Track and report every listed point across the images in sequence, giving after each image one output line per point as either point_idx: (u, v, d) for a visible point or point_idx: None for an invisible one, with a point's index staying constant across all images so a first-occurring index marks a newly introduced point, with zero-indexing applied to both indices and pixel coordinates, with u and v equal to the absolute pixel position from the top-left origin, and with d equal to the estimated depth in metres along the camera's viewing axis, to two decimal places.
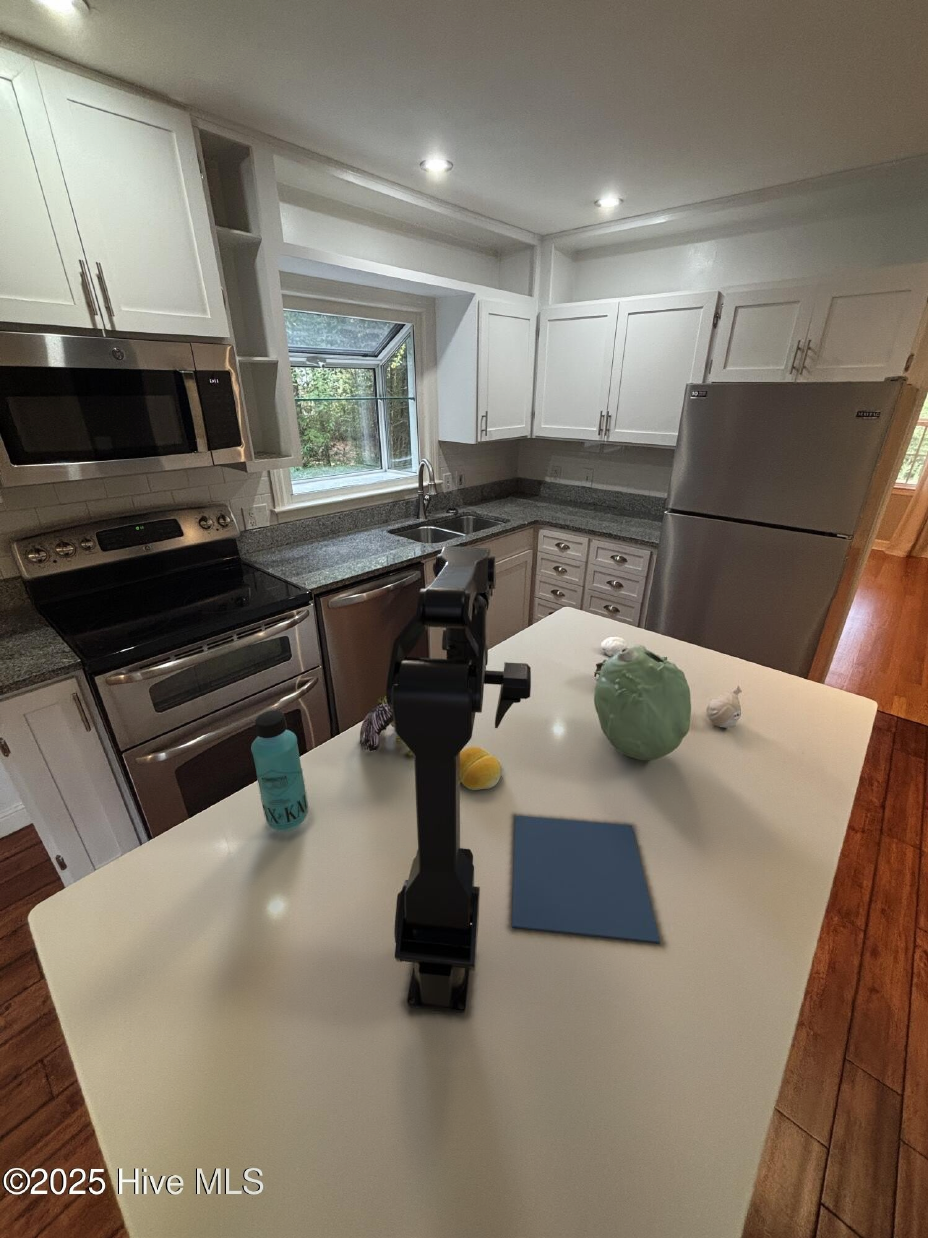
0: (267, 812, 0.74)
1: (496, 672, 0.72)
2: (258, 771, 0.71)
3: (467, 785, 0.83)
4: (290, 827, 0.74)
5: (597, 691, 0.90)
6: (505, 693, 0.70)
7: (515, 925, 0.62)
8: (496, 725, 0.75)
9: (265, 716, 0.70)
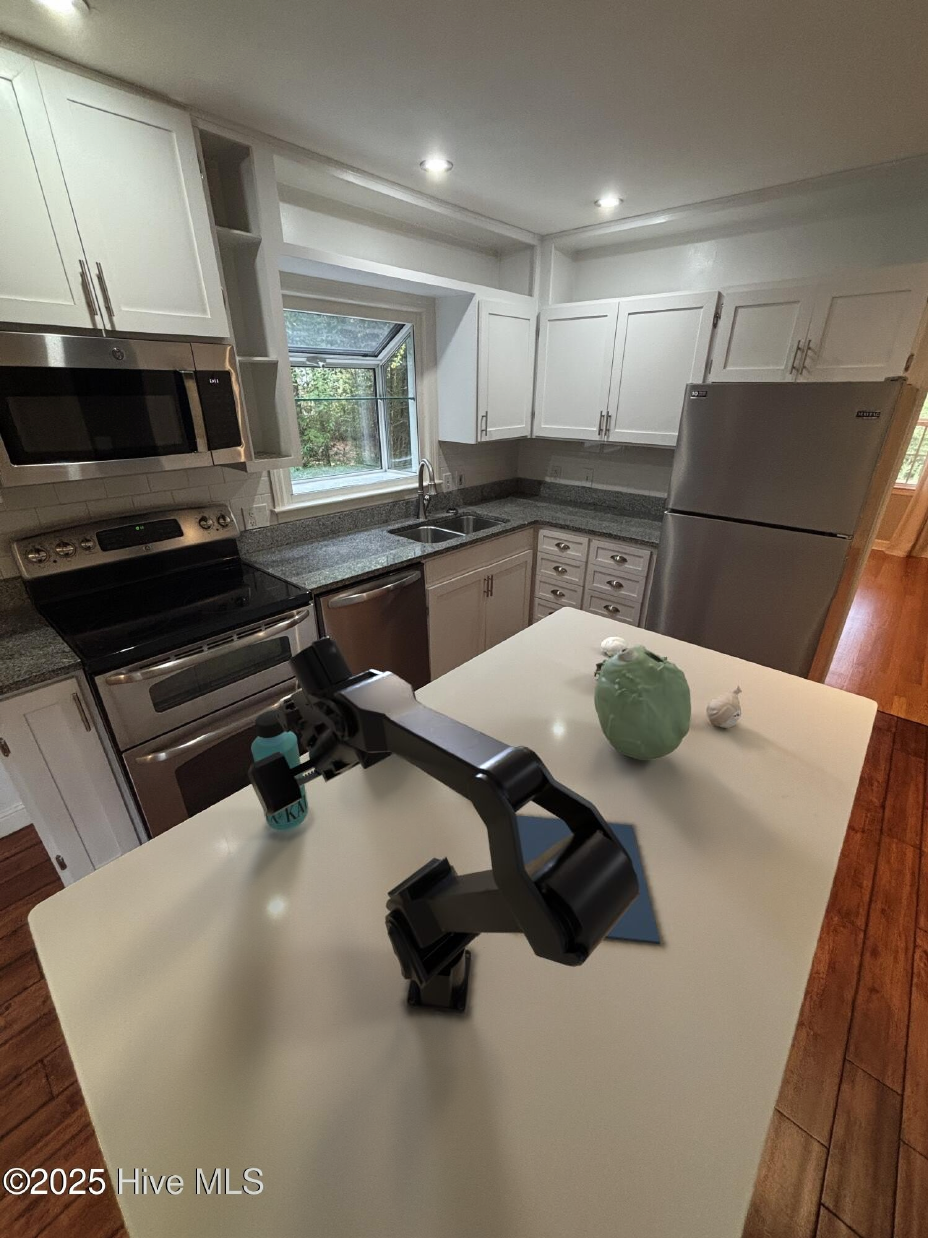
0: None
1: None
2: None
3: None
4: (290, 827, 0.74)
5: (597, 691, 0.90)
6: None
7: None
8: None
9: (265, 716, 0.70)
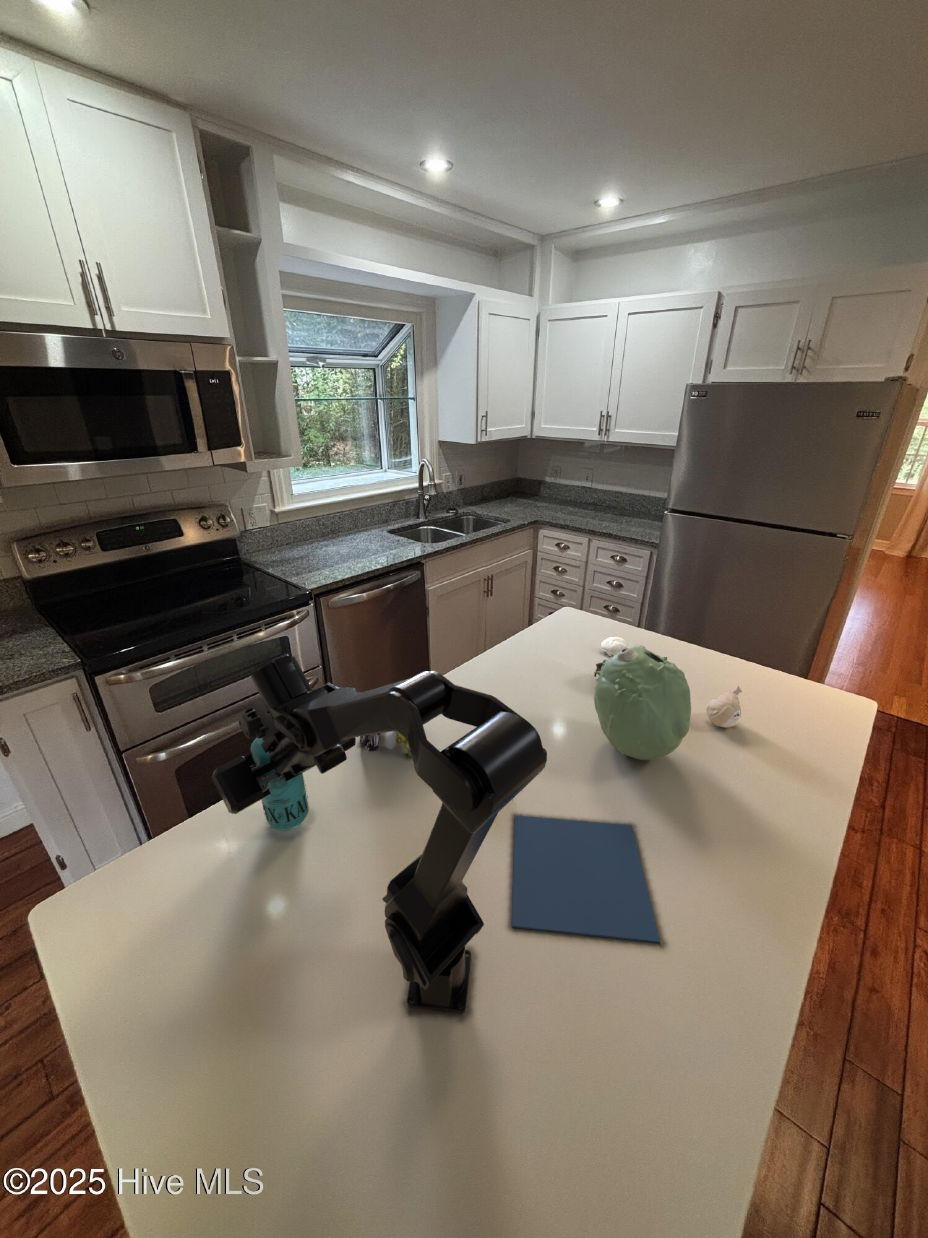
0: (267, 812, 0.74)
1: None
2: None
3: None
4: (290, 827, 0.74)
5: (597, 691, 0.90)
6: None
7: (515, 925, 0.62)
8: None
9: None
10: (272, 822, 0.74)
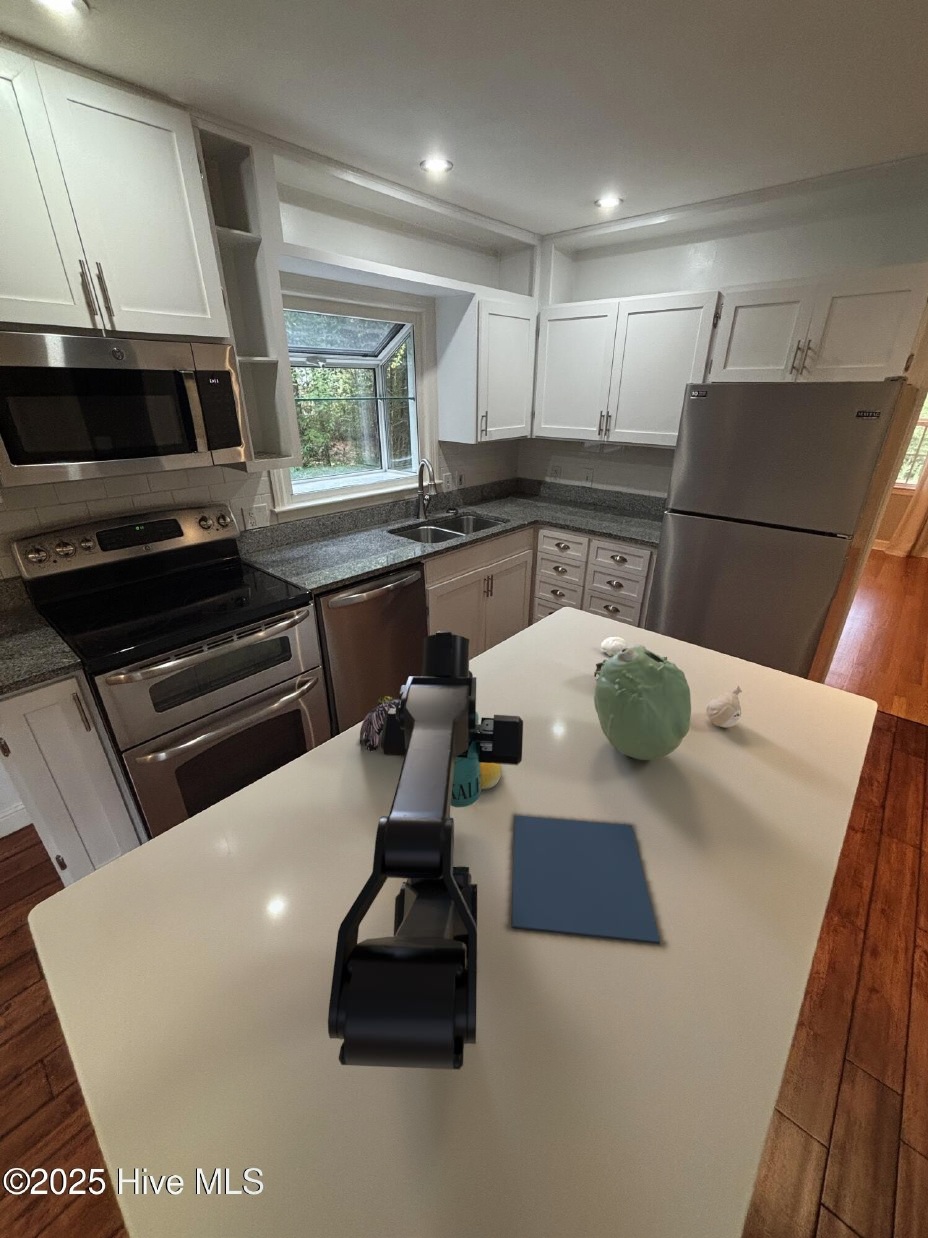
0: None
1: (484, 736, 0.65)
2: None
3: None
4: None
5: (597, 691, 0.90)
6: None
7: (515, 925, 0.62)
8: None
9: None
10: None
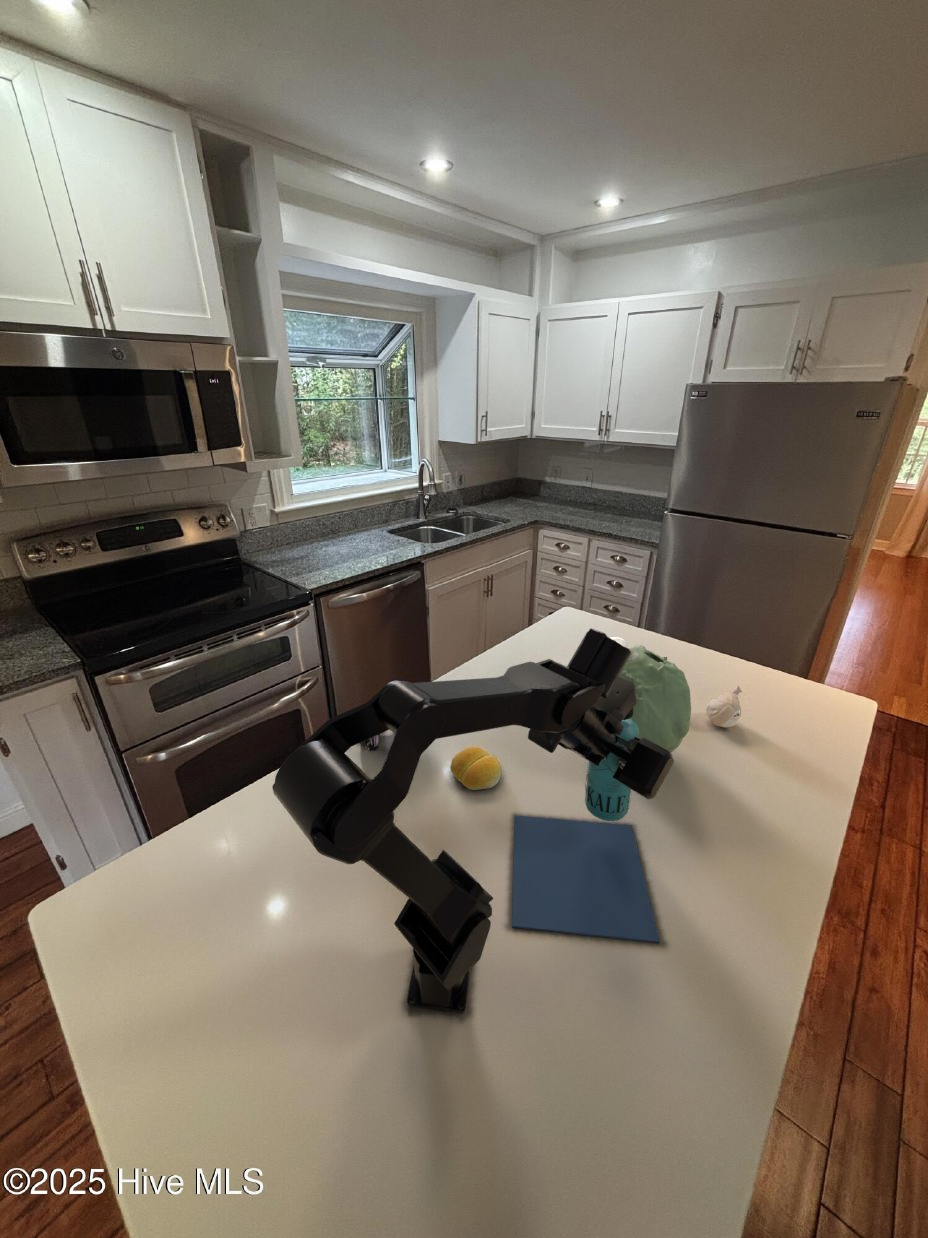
0: None
1: (623, 753, 0.62)
2: None
3: (467, 785, 0.83)
4: (588, 808, 0.72)
5: None
6: None
7: (515, 925, 0.62)
8: None
9: None
10: None
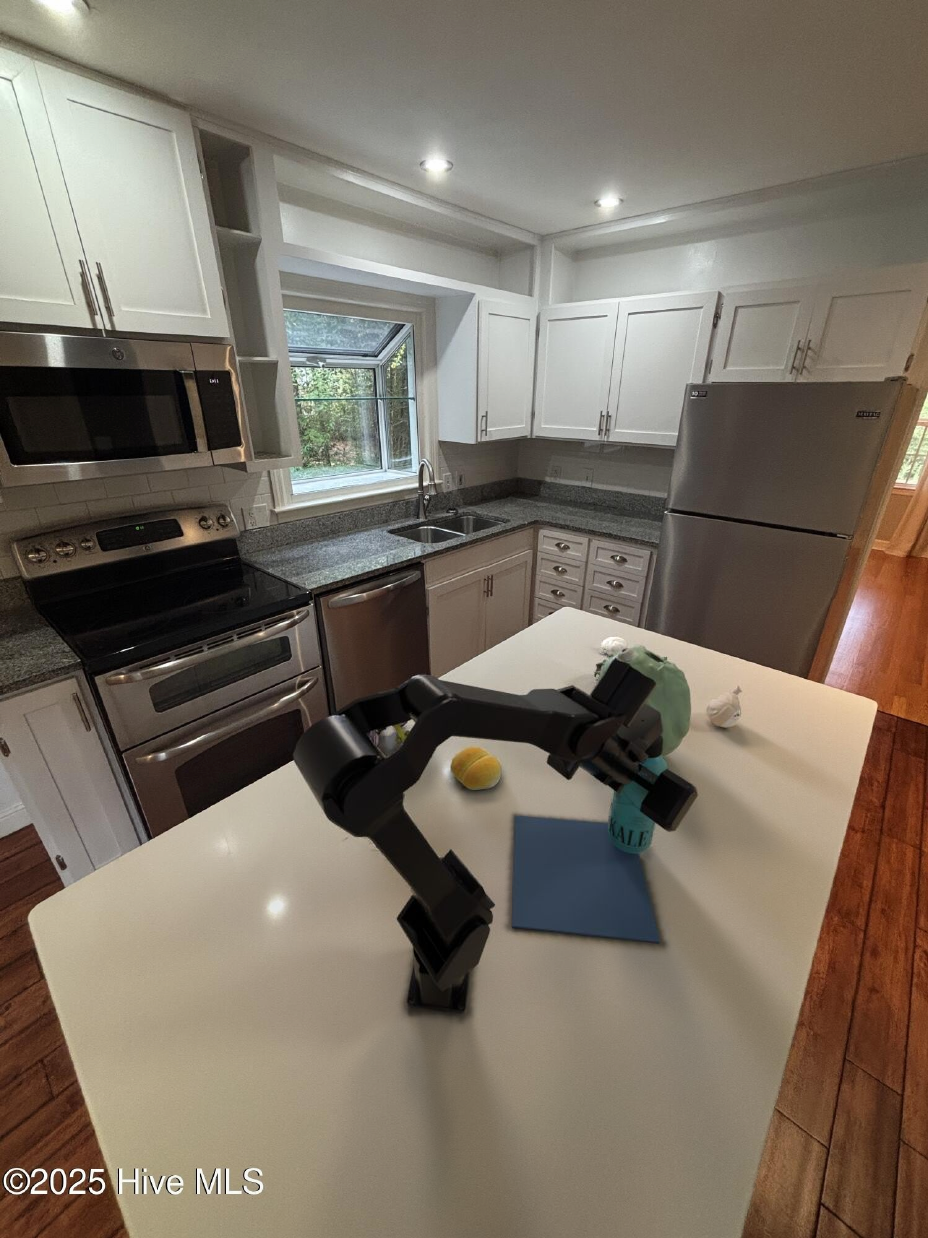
0: None
1: (645, 783, 0.61)
2: None
3: (467, 785, 0.83)
4: (609, 838, 0.72)
5: None
6: None
7: (515, 925, 0.62)
8: None
9: None
10: None
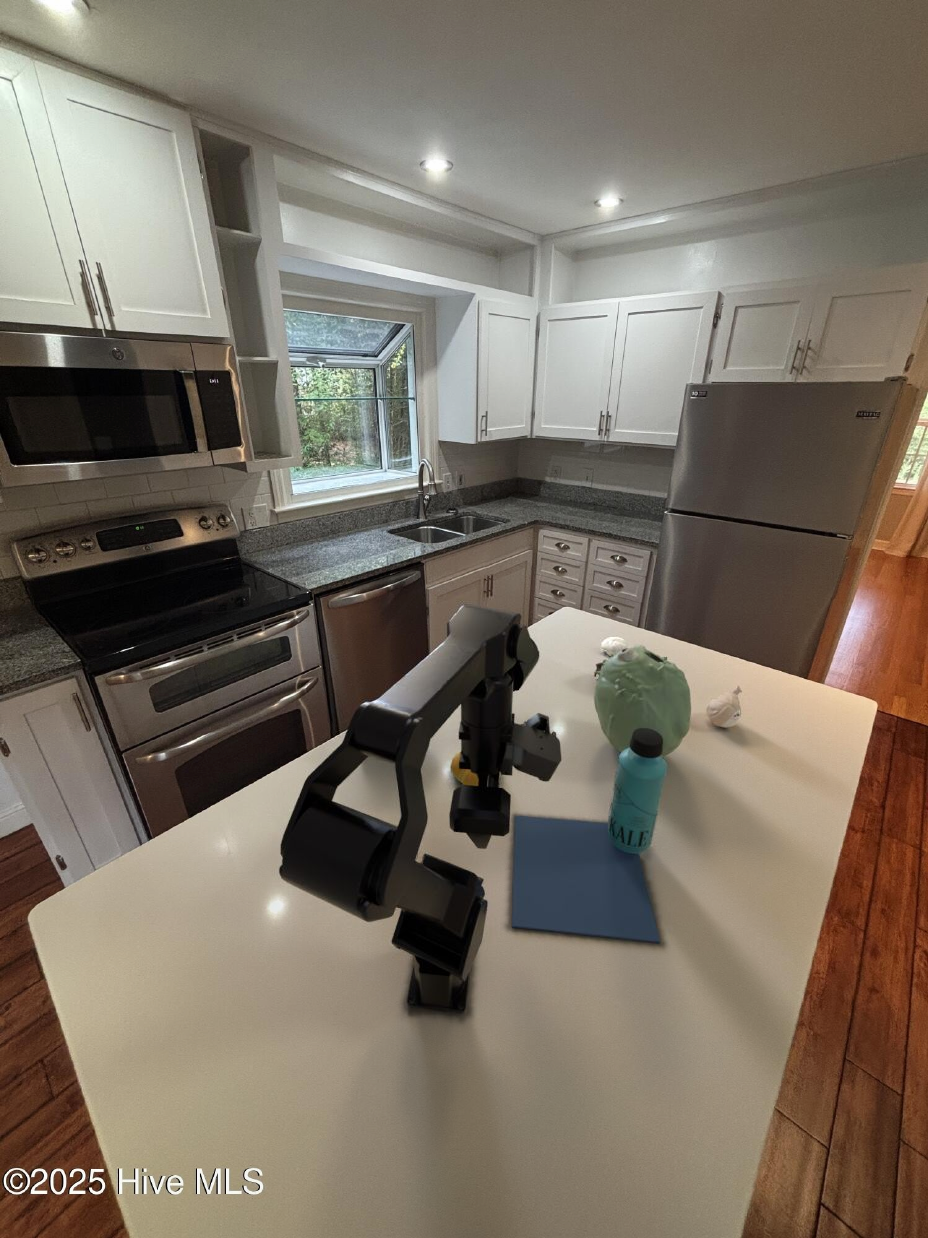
0: None
1: (483, 783, 0.54)
2: None
3: None
4: (609, 838, 0.72)
5: (597, 691, 0.90)
6: None
7: (515, 925, 0.62)
8: None
9: (648, 732, 0.66)
10: None
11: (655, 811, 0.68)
